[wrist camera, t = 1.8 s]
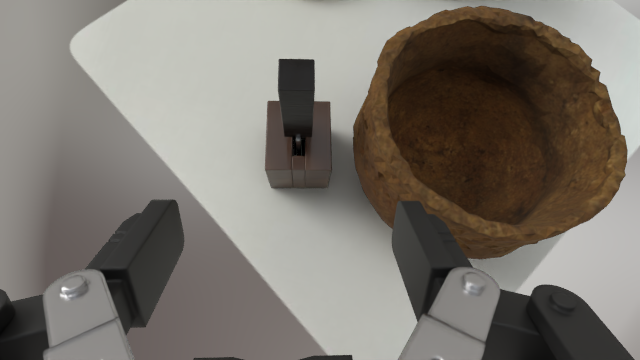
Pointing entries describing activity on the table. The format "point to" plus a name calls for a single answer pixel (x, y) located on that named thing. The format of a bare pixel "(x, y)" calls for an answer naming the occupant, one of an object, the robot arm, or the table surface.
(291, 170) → the knife block
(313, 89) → the knife
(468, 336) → the robot arm
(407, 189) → the bowl
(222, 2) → the table surface
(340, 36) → the table surface
